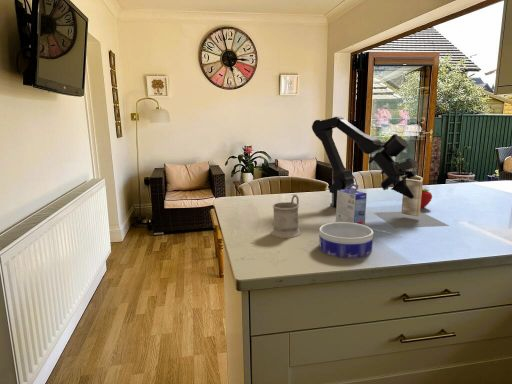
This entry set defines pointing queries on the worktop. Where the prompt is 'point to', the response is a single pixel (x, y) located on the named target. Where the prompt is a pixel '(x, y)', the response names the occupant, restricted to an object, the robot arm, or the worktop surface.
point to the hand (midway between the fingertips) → (414, 197)
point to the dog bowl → (345, 239)
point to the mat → (409, 220)
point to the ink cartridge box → (351, 205)
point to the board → (412, 204)
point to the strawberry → (425, 197)
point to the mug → (286, 219)
